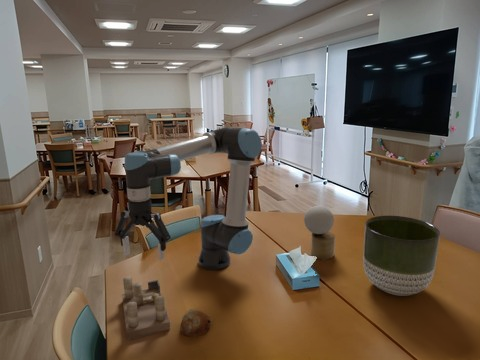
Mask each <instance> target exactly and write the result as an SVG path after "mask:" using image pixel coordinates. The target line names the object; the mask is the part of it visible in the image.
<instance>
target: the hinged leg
mask: <svg viewBox="0 0 480 360" xmlns="http://www.w3.org/2000/svg"><path fill="white" fill-rule="evenodd" d="M143 290H144V289H143V283H142V282H134V283H133V292H134V302H136V303H137V306H138V305H142V304H143V303H147V302H152V301H155V300H154V299H155V297H157V296H159V294H158V293H154V294H152V296H149V297H145V298H143Z"/></svg>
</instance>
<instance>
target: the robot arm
mask: <svg viewBox="0 0 480 360" xmlns="http://www.w3.org/2000/svg"><path fill="white" fill-rule="evenodd" d="M262 145H263V144H262V138H261V136H260V135H259V133H258V132H257V131H256V130H254V129H252V128H247V127H246V128H245V127H231V126H228V127H227V126H226V127H221V128H216V129H213V130H210V131H207V132H204V133H203V134H202V135H201V136H198V137H194V138H190V139H186V140H183V141H177V142H175V143H171V144H168V145H164V146H163V145H162V146H161V147H160V146H159V147H156V148H153V149H149V150H136V151H134V152H129V153H127V154H125V155H124V170H125V173H124V174H125V182H126V183H125V184H126V193H127V194H126V195H127V199H128V200H127V208H128V209H125V210H122V212H120V219H119V222H118V225H117V227H116V230H115V233H114V236H115V237H119V239H120V244H121V247H122V249H123V257H127V256H128V255H129V254H130V253H131V250H130V249H131V248H130V237H129V236H128V233H130V231H131V230H132V228H133V227H134V226H135V225H136V226H142V227H146V228H147V229H149V231H150V232H151V233H152V234H153V236H154V237H155V238H156V239H157V241H158V242H157V253H158V254H157V255H158V261H162V260H163V259H164V258H165V251H166V249H167V243H166V242H168V241H169V240H170V239H171V235H170V233H169V230H168V229H167V227H166V225H165V223H164V221H163V220H162V214H161V213H160V212H157V213H153V212H152V199H151V197H152V193H151V180H155V179H160V178H167V177H172V176H175V175H178V174H179V173H180V172H181V168H182V165H181V162H182V161H187V160H188V159H191V158H195V157H198V156H202V155H205V154H208V155H213V154H217V153H220V154H227V160H228V162H229V163H230V168H229V178H228V179H229V180H228V188H227V189H228V192H227V202H226V214H225V215H223V214H212V215H207V216H205V217H203V218H202V219H200V237H201V238H200V239H201V241H200V242H201V249H200V252H199V256H198V265H199V266H200V268H202V269H204V270H209V271H210V270H211V271H218V270H222V269H225V268H226V267H228V266H229V265H230V264H231V256H230V253H231V254H235V255H242V254H244V253H246V252H247V251H248V250H249V248H250V247H251V246H252V242H253V238H254V236H253V233H252V231H251V230H250V229H249V221H248V220H247V219H246V218H247V217H246V215H247V208H248V207H247V206H248V198H249V197H248V196H249V184H250V174H251V165H253V163H255V160H256V158H257V157H258V156H259V155H260V153H261V152H262V148H263V147H262ZM128 218H130V219H131V220H130V221H129V222H128V224H127V225H126V223H127V220H128ZM125 226H126V227H125ZM124 227H125V228H124Z"/></svg>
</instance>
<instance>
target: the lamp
mask: <svg viewBox="0 0 480 360" xmlns="http://www.w3.org/2000/svg"><path fill="white" fill-rule="evenodd" d="M334 221H335V219H334V215H333V213H332V211H331V210H330V209H329V208H327V207H326V206H323V205H314V206H312V207H310V208H308V209H307V211H306V212H305V214H304V218H303V222H304V226H305V227H306V230H307V231H309V232H311V242H310V243H311V245H310V246H311V247H310V255H311V254H312V255H311V256H312V257H313V256H316V257H317V258H318V260H323V259H327V260H330V259H329V258H331V259H333V258H334V257H335V246H336V245H335V244H336V243H335V242H336V234H334V233H333V232H330V231H331V230H332V228H333V226H334V224H335V223H334ZM333 256H334V257H333ZM332 257H333V258H332ZM317 258H316V259H317Z"/></svg>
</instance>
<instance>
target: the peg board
mask: <svg viewBox="0 0 480 360" xmlns="http://www.w3.org/2000/svg"><path fill="white" fill-rule="evenodd" d="M122 280H123V282H122V283H123V290H124V293H122V295H121V297H122V305H123V314H124V315H123V316H124V322H125V332H126V340H127V341H130V340H134V339H139V338H142V337H146V336H150V335H153V334H154V335H155V334H157V333H161V332H166V331H170V330H171V325H170V324H171V323H170V319H169V316H168V313H167V310H166V306H165V297H164V296H163V295H162V294H161V286H160V282H159V279H157V280H152V281H147V289H142V290H143V298H145V297H149V296H152V294H154V293H158V294H159V296H157V297H155V299H154V300H155V301H152V302H147V303H143V304H142V305H138V306H137V303H136V302H134V292H133V284H134V283H133V277H132V276H125V277H123V278H122Z"/></svg>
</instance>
